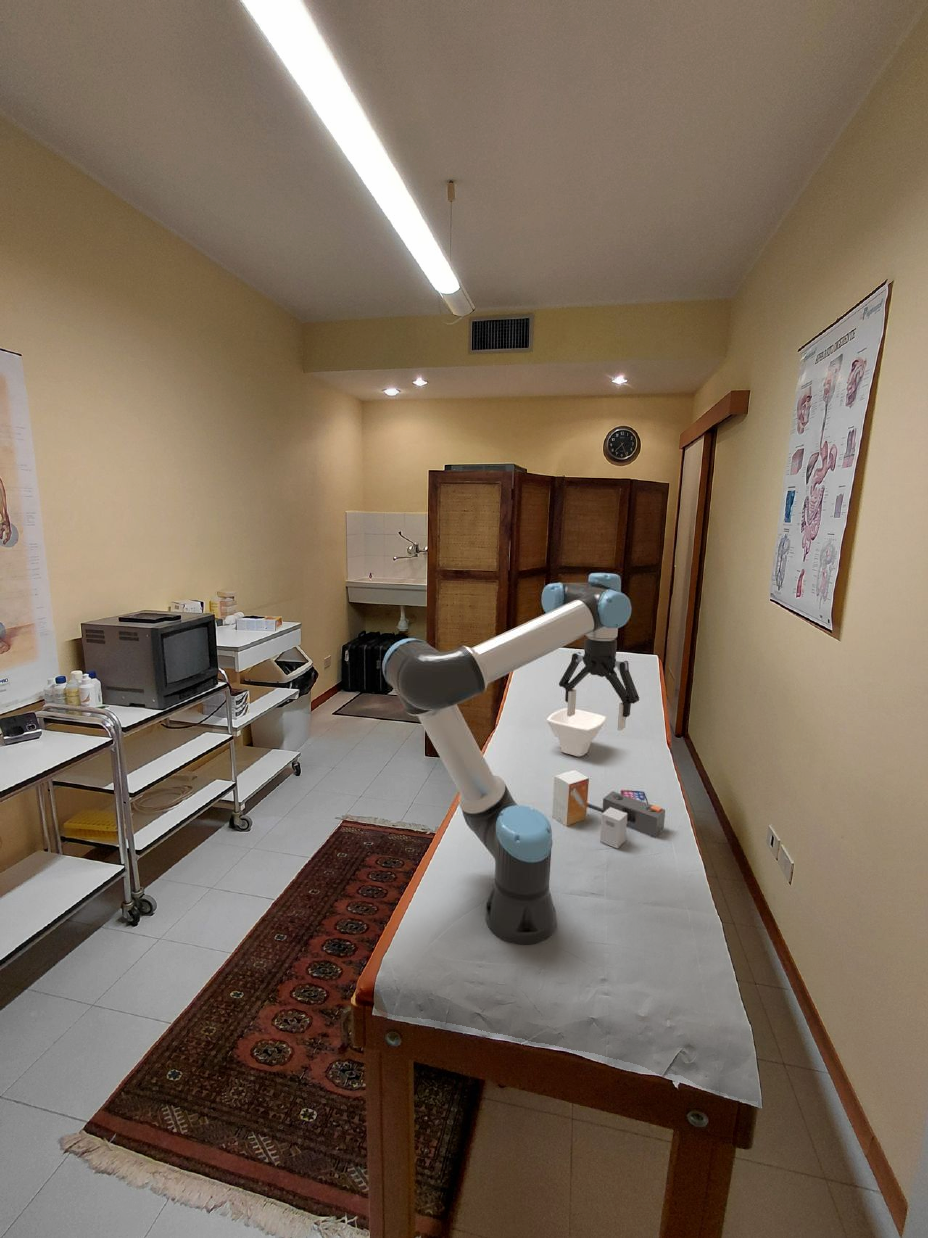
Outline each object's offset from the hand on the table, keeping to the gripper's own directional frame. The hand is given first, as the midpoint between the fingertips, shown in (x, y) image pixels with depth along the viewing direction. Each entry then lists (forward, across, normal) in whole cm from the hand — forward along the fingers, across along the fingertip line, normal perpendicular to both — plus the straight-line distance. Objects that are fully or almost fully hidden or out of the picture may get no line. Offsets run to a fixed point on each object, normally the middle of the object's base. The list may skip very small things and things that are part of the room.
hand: (595, 721), depth 134 cm
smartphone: (+37, +2, -36) cm, 52 cm away
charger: (+36, -2, -13) cm, 39 cm away
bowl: (+37, +35, -57) cm, 76 cm away
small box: (+37, +13, -14) cm, 42 cm away
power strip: (+37, +2, -24) cm, 44 cm away
